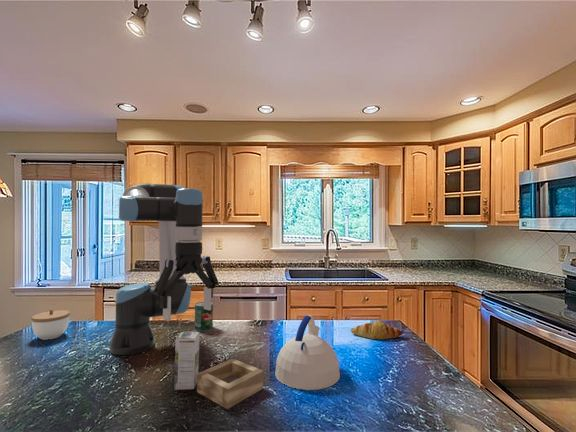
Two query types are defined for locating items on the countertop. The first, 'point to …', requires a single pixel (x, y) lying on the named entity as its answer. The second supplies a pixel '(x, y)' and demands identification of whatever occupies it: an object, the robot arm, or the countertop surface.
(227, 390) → the socket block
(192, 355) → the syrup box
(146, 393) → the countertop surface
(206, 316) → the canned tomato
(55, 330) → the lidded bowl
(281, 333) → the countertop surface
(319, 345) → the kettle
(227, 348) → the countertop surface
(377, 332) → the croissant
